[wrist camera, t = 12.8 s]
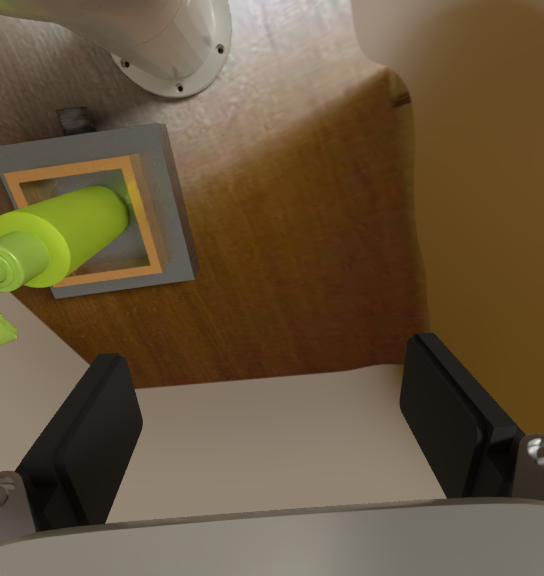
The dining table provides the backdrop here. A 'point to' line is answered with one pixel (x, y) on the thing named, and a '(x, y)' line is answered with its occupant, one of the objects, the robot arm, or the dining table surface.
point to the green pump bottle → (56, 239)
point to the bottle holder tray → (125, 183)
